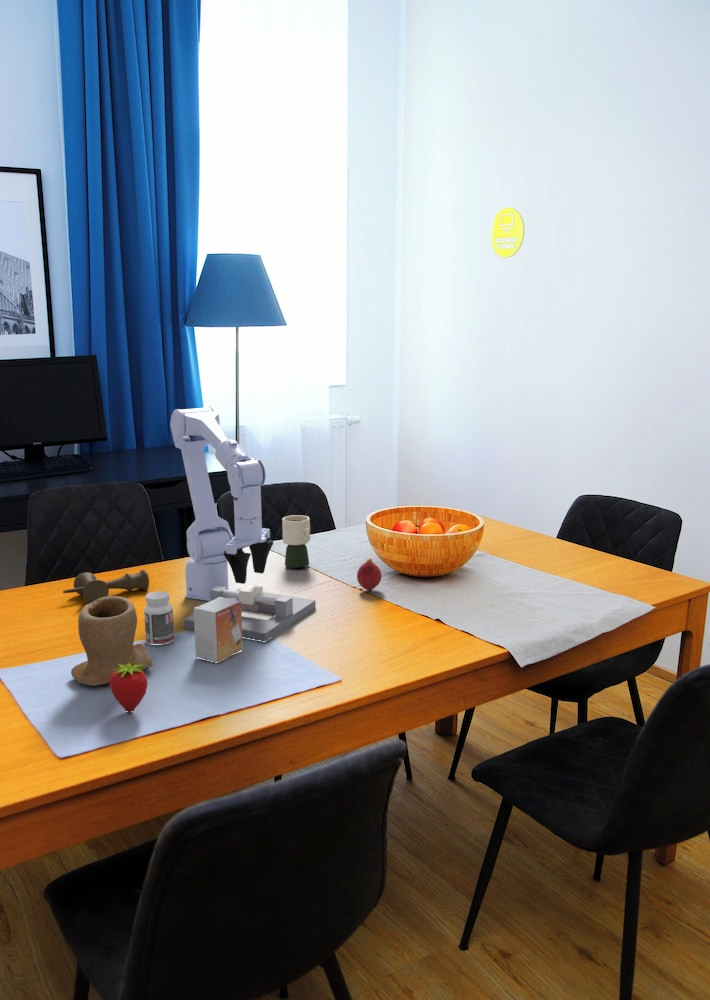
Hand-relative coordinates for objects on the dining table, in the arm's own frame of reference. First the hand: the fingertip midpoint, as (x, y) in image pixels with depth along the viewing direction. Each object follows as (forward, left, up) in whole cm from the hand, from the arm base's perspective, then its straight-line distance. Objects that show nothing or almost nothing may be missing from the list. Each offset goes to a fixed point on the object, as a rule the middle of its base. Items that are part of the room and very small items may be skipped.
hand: (250, 577), depth 192 cm
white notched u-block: (0, 0, -6) cm, 6 cm away
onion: (+16, +27, -9) cm, 33 cm away
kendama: (-39, -1, -10) cm, 40 cm away
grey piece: (0, 0, -9) cm, 9 cm away
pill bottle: (-10, -19, -9) cm, 23 cm away
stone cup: (-7, -36, -10) cm, 38 cm away
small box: (+5, -20, -10) cm, 23 cm away
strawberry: (+5, -47, -9) cm, 48 cm away
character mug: (-9, +37, -9) cm, 39 cm away
